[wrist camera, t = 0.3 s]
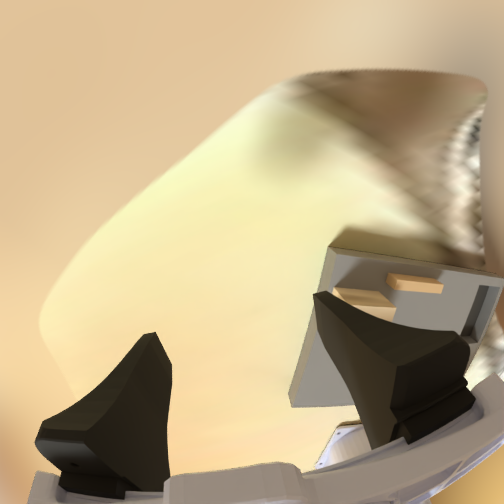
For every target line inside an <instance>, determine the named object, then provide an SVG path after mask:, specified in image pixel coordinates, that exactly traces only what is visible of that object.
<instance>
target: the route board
mask: <svg viewBox="0 0 504 504" xmlns="http://www.w3.org/2000/svg"><path fill="white" fill-rule="evenodd" d="M503 286H504V278H503V277H501V276H499V275H497V274H495V273H491V272H485V271H479V270H474V269H468V268H462V267H456V266H450V265H444V264H438V263H432V262H425V261H419V260H413V259H407V258H400V257H394V256H388V255H381V254H375V253H368V252H361V251H355V250H348V249H341V248H335V247H328V249H327V253H326V258H325V262H324V266H323V271H322V275H321V279H320V283H319V287H318V291H317V293H318V292H322V291H325V290H326V291H328V292H330V293H331V294H332V292H333V288H334V287H339V288H349V289H359V290H370V291H379V292H380V293H381V294H382V295H383V296H384V297H385V298H387V299H388V300H389V301H390V302H391V303H392V304H393V305H394V306H395V307H396V311H395V314H394V317H393V320H392V322H393V323H396V324H400V325H405V326H409V327H414V328H420V329H429V330H447V331H455V332H456V333H458V334H459V335H460V336H461V337H462V338H463V339H464V340H465V341H466V342H467V343H468V344H469V346H470V358H469V361H468V364H467V367H466V370H465V373H466V371H467V370H468V368H469V366H470V364H471V362H472V360H473V358H474V356H475V354H476V352H477V350H478V348H479V346H480V344H481V342H482V339H483V337H484V335H485V333H486V330H487V328H488V326H489V323H490V321H491V319H492V316H493V314H494V311H495V309H496V306H497V303H498V301H499V298H500V295H501V292H502V289H503ZM465 373H464V375H465ZM464 375H463V377H464ZM288 395H289V399H290V403H291V407H292V408H295V407H331V406H347V405H355V404H354V401H353V399H352V397H351V394H350V392H349V390H348V388H347V386H346V384H345V382H344V380H343V378H342V377H341V375H340V373H339V371H338V370H337V368H336V366H335V365H334V363H333V361H332V359H331V358H330V356H329V354H328V353H327V351H326V349H325V347H324V345H323V343H322V340H321V338H320V335H319V333H318V330H317V323H316V315H315V307H313V311H312V314H311V318H310V322H309V325H308V329H307V333H306V336H305V340H304V343H303V347H302V350H301V354H300V357H299V360H298V364H297V367H296V370H295V374H294V377H293V380H292V383H291V386H290V389H289V392H288Z"/></svg>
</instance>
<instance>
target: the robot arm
mask: <svg viewBox="0 0 504 504" xmlns="http://www.w3.org/2000/svg"><path fill="white" fill-rule="evenodd" d="M313 299H314V307H315V315H316V323H317V330H318V333H319V335H320V338H321V340H322V343H323V345H324V347H325V349H326V351H327V353H328V354H329V356H330V358H331V359H332V361H333V363H334V365H335V366H336V368H337V370H338V371H339V373H340V375H341V377H342V378H343V380H344V382H345V384H346V386H347V388H348V390H349V392H350V394H351V397H352V399H353V401H354V404H355V406H356V409H357V411H358V414H359V416H360V419H361V421H362V424H357V425H348V426H339V427H338V428H336V430H335V432H334V434H333V435H332V437H331V439H330V441H329V443H328V444H327V446H326V448H325V450H324V451H323V453H322V455H321V456H320V458H319V460H318V461H317V463H316V465H315V469H316V470H313V471H309V472H306V473H302V474H301V471H300V469H299V468H297V467H296V466H295V465H293V464H291V463H283V462H271V463H261V464H256V465H250V466H244V467H238V468H232V469H225V470H217V471H208V472H198V473H185V474H180V475H175V476H172V477H170V469H169V460H168V445H167V422H168V413H169V405H170V397H171V389H172V364H171V362H170V360H169V358H168V356H167V354H166V352H165V350H164V348H163V346H162V344H161V342H160V340H159V338H158V336H157V334H156V332H153V333H148V334H144V335H143V336H142V337H141V338H140V339H139V340H138V341H137V342H136V344H135V345H134V346H133V347H132V349H131V350H130V351H129V352H128V353H127V355H126V356H125V357H124V358H123V360H122V361H121V362H120V363H119V364H118V365H117V366H116V368H115V369H114V370H113V371H112V372H111V373H110V374H109V375H108V376H107V377H106V378H105V379H104V380H103V381H102V382H101V383H100V384H99V385H98V386H97V387H96V388H95V389H94V390H92V391H91V392H90V393H89V394H87V395H86V396H85V397H83V398H82V399H81V400H80V401H78V402H77V403H75V404H74V405H72V406H71V407H69V408H67V409H66V410H64V411H62V412H60V413H59V414H57V415H55V416H52V417H51V418H48V419H46V420H44V421H43V422H42V424H41V427H40V429H39V432H38V435H37V437H36V440H35V445H36V447H37V449H38V450H39V452H40V453H41V454H42V455H43V456H44V457H45V458H46V459H47V460H49V461H50V462H51V463H52V464H53V465H55V466H56V467H57V468H58V469H59V470H61V471H62V472H61V476H60V477H59V476H57V475H55V474H52V473H47V472H43V471H36V474H35V477H34V480H33V484H32V487H31V491H30V494H29V498H28V502H27V504H431V501H430V499H429V498H430V497H432V496H434V495H435V494H437V493H438V492H440V491H441V490H443V489H445V488H446V487H447V486H449V485H450V484H452V483H453V482H455V481H456V480H458V479H459V478H461V477H462V476H463V475H465V474H466V473H467V472H469V471H470V470H471V469H473V468H474V467H476V466H477V465H478V464H480V463H481V462H482V461H483V460H485V459H486V458H487V457H489V456H490V455H491V454H492V453H494V452H495V451H496V450H497V449H498V448H500V447H501V446H502V445H503V444H504V382H503V381H502V380H501V379H500V377H499V376H498V375H497V374H496V373H492V374H491V375H490V376H488V377H487V378H485V379H484V380H483V381H481V382H480V383H478V384H477V385H476V386H475V387H474V388H473V389H472V390H471V391H469V390H468V388H467V387H466V386H467V384H468V381H467V380H466V379H465V378H464V377H463V375H464V373H465V370H466V367H467V364H468V361H469V358H470V346H469V344H468V343H467V342H466V341H465V340H464V339H463V338H462V337H461V336H460V335H459V334H458V333H456V332H455V331H447V330H429V329H420V328H414V327H409V326H405V325H400V324H396V323H393V322H390V321H387V320H384V319H381V318H378V317H376V316H373V315H371V314H369V313H366V312H364V311H362V310H360V309H358V308H356V307H354V306H352V305H350V304H348V303H347V302H345V301H343V300H341V299H340V298H338V297H336V296H335V295H333V294H331V293H330V292H328V291H326V290H325V291H322V292H318V293H315V294H313Z"/></svg>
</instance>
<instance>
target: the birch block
mask: <svg viewBox="0 0 504 504" xmlns="http://www.w3.org/2000/svg"><path fill="white" fill-rule="evenodd" d="M332 294H333V295H335V296H336V297H338V298H340V299H341V300H343V301H345V302H347V303H348V304H350V305H352V306H354V307H356V308H358V309H360V310H362V311H364V312H366V313H369V314H371V315H373V316H376V317H378V318H381V319H384V320H387V321H390V322H392V320H393V317H394V314H395V311H396V307H395V306H394V305H393V304H392V303H391V302H390V301H389V300H388V299H387V298H385V297H384V296H383V295H382V294H381V293H380V292H379V291H370V290H359V289H349V288H339V287H334V288H333V292H332Z"/></svg>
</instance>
